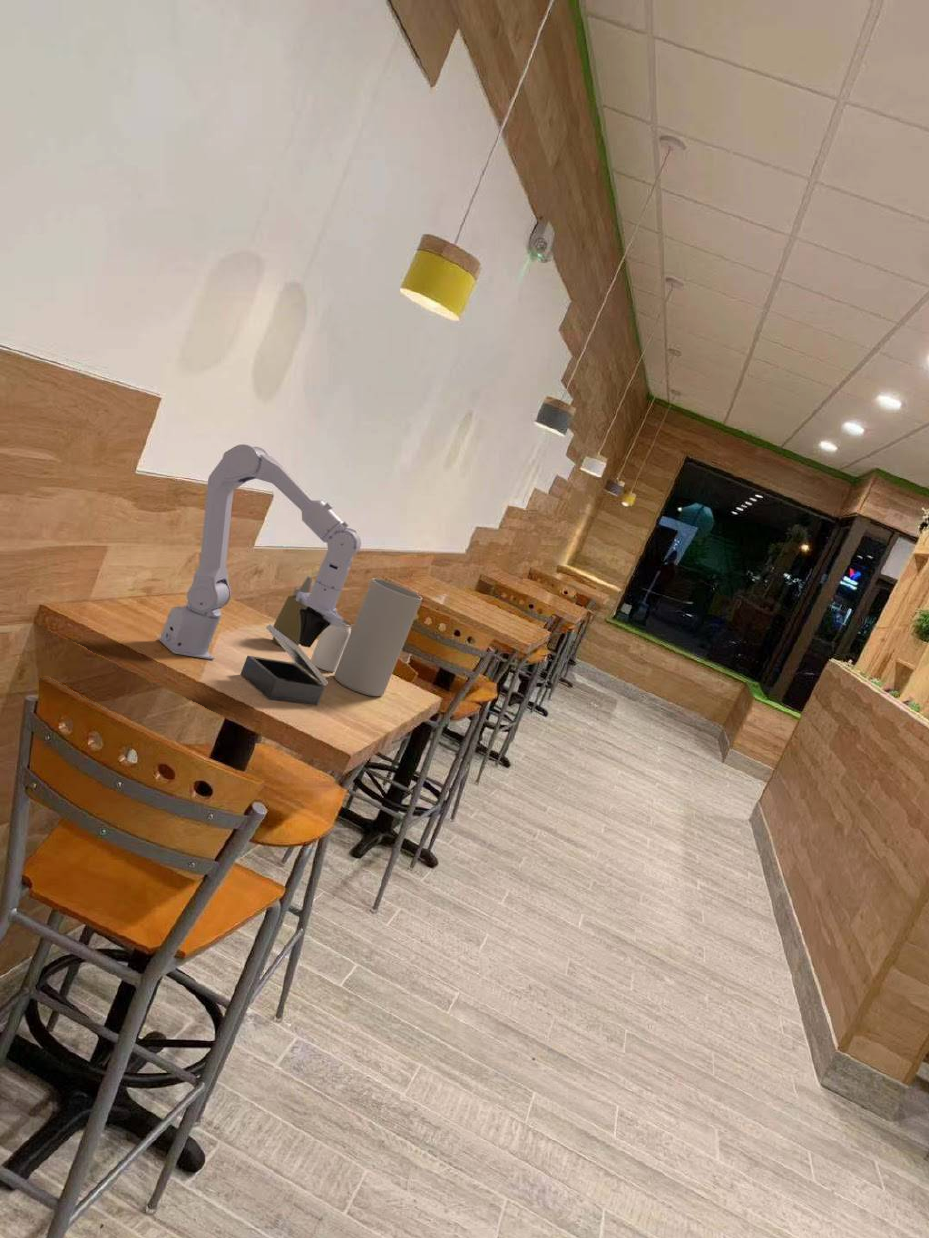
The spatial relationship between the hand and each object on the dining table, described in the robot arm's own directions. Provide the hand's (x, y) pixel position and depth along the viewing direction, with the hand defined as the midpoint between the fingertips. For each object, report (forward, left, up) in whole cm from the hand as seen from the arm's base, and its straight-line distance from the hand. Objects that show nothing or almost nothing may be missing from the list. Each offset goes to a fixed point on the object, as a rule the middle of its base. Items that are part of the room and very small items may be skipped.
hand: (304, 645), depth 188 cm
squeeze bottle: (+19, +32, -11) cm, 39 cm away
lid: (-1, 0, -3) cm, 3 cm away
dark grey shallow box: (-2, 0, -10) cm, 10 cm away
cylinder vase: (+27, +10, -11) cm, 31 cm away
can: (+23, +20, -11) cm, 32 cm away
